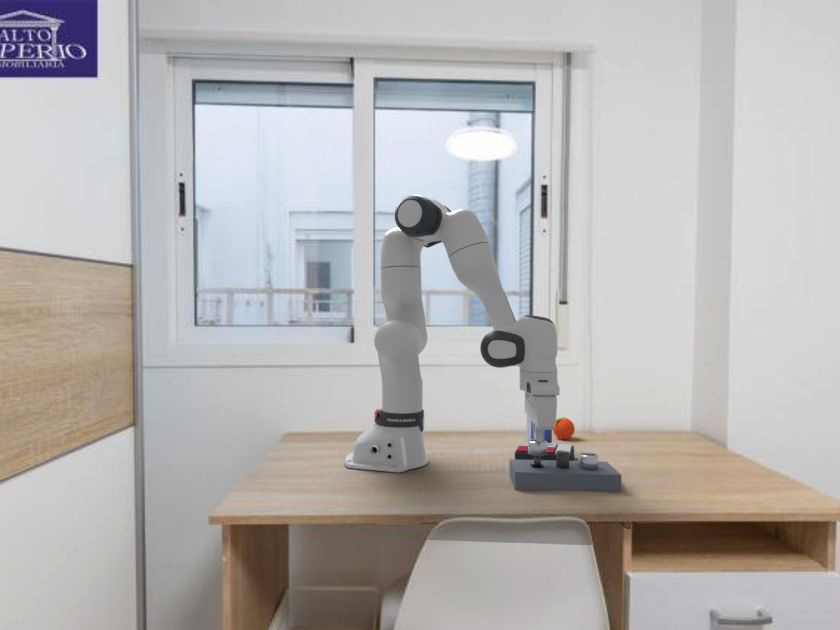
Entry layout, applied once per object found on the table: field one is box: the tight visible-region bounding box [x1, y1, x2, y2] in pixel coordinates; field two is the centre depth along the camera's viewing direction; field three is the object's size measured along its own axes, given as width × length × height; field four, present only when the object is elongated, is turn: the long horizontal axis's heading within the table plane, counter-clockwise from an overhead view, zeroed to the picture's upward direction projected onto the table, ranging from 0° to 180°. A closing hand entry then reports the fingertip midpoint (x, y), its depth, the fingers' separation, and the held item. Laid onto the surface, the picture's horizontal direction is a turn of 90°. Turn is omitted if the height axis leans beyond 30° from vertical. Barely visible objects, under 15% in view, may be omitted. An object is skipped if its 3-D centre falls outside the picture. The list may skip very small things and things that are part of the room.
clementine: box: [552, 416, 576, 440], centre depth 158 cm, size 8×7×7 cm
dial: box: [556, 450, 569, 469], centre depth 116 cm, size 3×3×4 cm
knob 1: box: [528, 439, 547, 468], centre depth 116 cm, size 4×4×7 cm
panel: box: [509, 459, 622, 493], centre depth 116 cm, size 24×10×4 cm, turn 87°
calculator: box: [514, 441, 575, 461], centre depth 136 cm, size 11×4×15 cm
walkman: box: [526, 414, 553, 443], centre depth 146 cm, size 8×3×12 cm, turn 31°
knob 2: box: [578, 451, 599, 470], centre depth 116 cm, size 4×4×7 cm
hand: (538, 440), depth 116 cm, fingers closed, pressing on knob 1
